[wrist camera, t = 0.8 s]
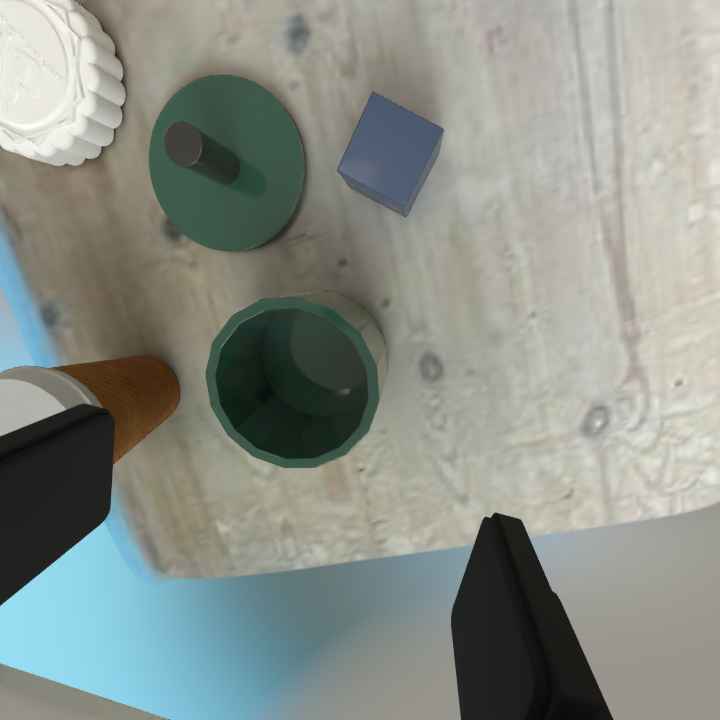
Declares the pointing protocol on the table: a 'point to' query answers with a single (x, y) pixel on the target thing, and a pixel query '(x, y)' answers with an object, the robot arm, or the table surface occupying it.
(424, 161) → the block
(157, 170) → the crock lid
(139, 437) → the disposable coffee cup
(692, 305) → the table surface
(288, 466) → the crock
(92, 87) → the mooncake
